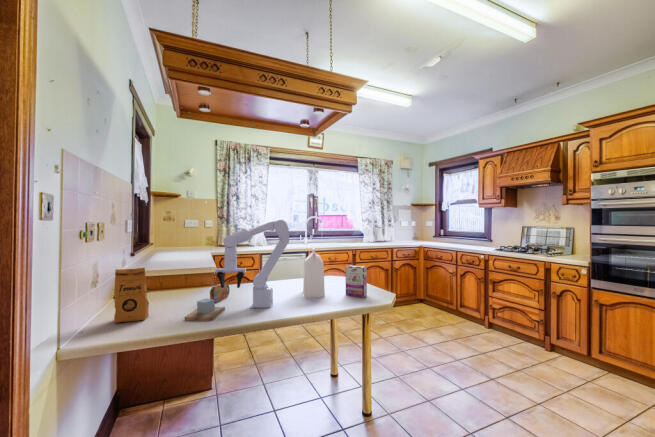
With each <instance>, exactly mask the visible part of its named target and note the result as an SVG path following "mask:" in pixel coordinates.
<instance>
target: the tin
mask: <svg viewBox="0 0 655 437" xmlns="http://www.w3.org/2000/svg"><path fill="white" fill-rule="evenodd" d="M229 295H230V286H229V284H228V283H227V282H225V286H224V288H221V284H220V283H218V284H216V285H213V286H212V287H211V288H210V290H209V299H214V303H219V302H221V301H224V300H226V299H227V298H228V297H229Z"/></svg>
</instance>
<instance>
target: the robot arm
mask: <svg viewBox="0 0 655 437" xmlns="http://www.w3.org/2000/svg"><path fill="white" fill-rule="evenodd" d="M266 231H271V232H274V231H275V232H276V234H277V236H278V240H279V241H278V242H277V244H276V245H275V247H274V249H273V251H272V252H271V254H269V257H268V259H267V260H266V262H265V263H264V265H263V267H262V268H261V269H260V271H259V272H258V273H256V275H255V277H254V278H253V279H252V285H253V286H252V304H251V305H250V309H256V308H257V309H258V308H260V309H262V308H263V309H264V308H265V309H266V308H267V309H268V308H270V309H271V307H272V305H273V303H274V301H273V299H274V298H273V297H274V294H273V293H274V292H273V291H274V290H273V289H274V288H273V287H269V286H268V284H267V282H268V277H269V276H270V274H271V272H272V271H273V269H274V268H275V266H276V264H277V262H278V261H279V259H280V258H281V257H282V255H283V253H284V251H285V250H286V247H288V246H287V245H288V244H290V230H289V226H288V224H287V221H285V220H284V219H278V220H275V221H269V222H267V223H264V224H262V225H259V226H256V227H254V228H252V229H249V228H241V230H239V231H237V232H235V231H234V232H232V233H231V234H229V235H227V236H225V237H224V238H223V245H224V267H219V268H218V267H217V268H215V269H214V274H216V277H217V278H218V281H219V284H221V288H224V286H225V283H226V281H225V279H226V278H225V277H226V273H227V274H228V273H230V274H231V273H232V274H233V273H234V274H236V281H237V282H236V287H237V289H239V288H240V287H241V284H242V281H243V277H244V275H245V274H246V273H247V268H245V267H238V249H237V247H238V246H237V245H238V244H239V245H240V244H243V243H246V242H248V241H249V240H252V239H253V236H256V235H258V234H261V233H263V232H266Z"/></svg>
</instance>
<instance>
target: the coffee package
mask: <svg viewBox="0 0 655 437" xmlns="http://www.w3.org/2000/svg"><path fill="white" fill-rule="evenodd" d="M114 271H115V273H114V274H115V276H114V288H113V292H114V309H115V313H114V317H113V322H114V323H126V322H127V323H128V322H137V321H139V322H140V321H145V320H146V319H147V318H148V317H149V316H150V315H149V312H150V311H149V309H150V308H149V302H150V301H149V300H148V294H147V293H148V291H147V288H148V286H147V278H146V277H147V276H146V273H147V272H146V268H145V267H138V268H137V267H136V268H120V269H119V268H118V269H115V270H114Z"/></svg>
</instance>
